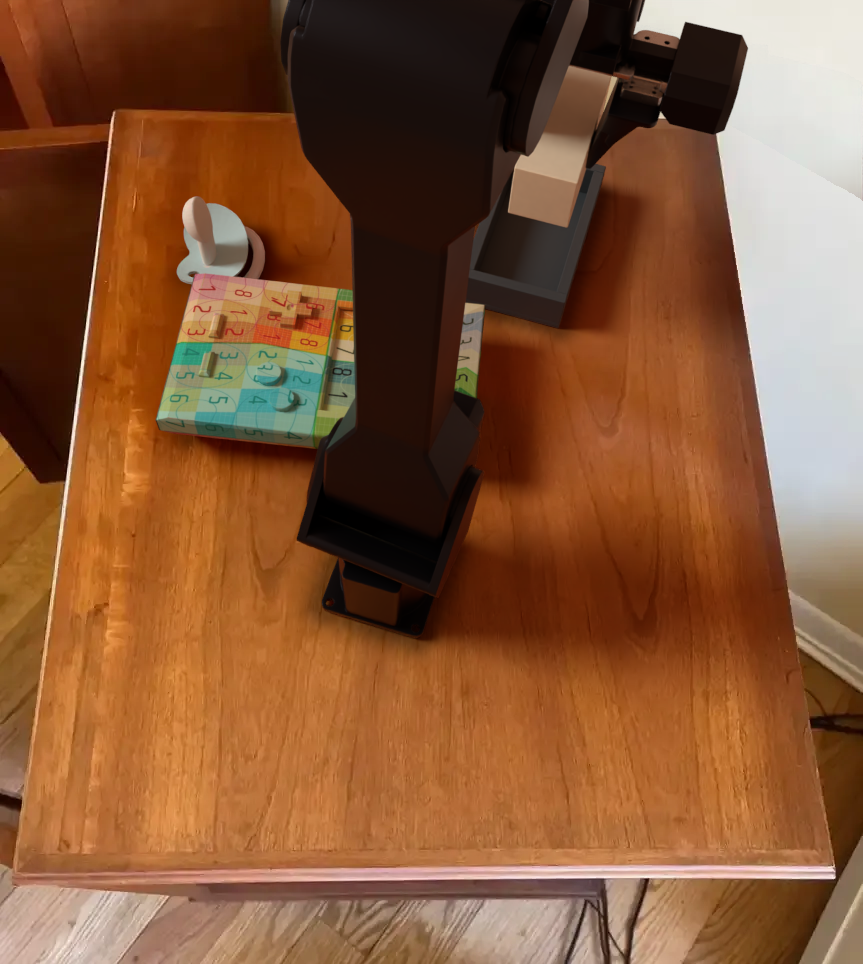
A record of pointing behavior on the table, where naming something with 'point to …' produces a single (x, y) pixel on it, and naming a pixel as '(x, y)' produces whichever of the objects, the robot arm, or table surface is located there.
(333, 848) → the table surface
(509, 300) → the tray
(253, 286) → the puzzle game
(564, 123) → the block
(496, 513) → the table surface
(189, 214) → the pacifier
